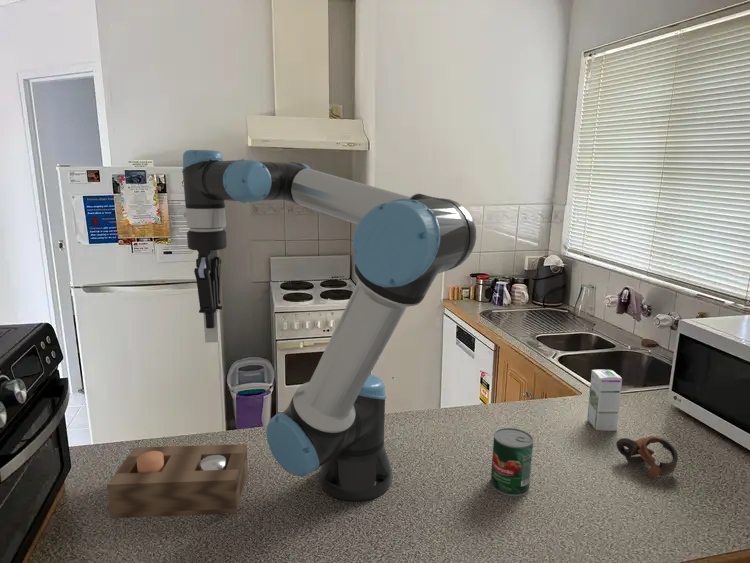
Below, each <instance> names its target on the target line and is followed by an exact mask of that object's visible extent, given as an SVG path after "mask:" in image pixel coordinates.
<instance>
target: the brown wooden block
mask: <svg viewBox="0 0 750 563" xmlns="http://www.w3.org/2000/svg"><path fill="white" fill-rule="evenodd" d="M149 451H160V452H162V453H163V457H164V468H163V470H162V472H149V473H138V470H137V458H138V457H139V456H140V455H141V454H143V453H146V452H149ZM211 455H221V456H224V457H225V458H226V470H207V471H201V465H200V463H201V461H202V460H203V459H204V458H206V457H208V456H211ZM248 461H249V460H248V444H247V443H242V444H241V443H238V444H237V443H236V444H210V445H209V444H206V445H178V446H177V445H176V446H175V445H173V446H170V445H169V446H147V447H145V446H144V447H133V449H132V450H131V451H130V452H129V453H128V456H127V457H125V460H124V461H123V462H122V464H121V465H120V466H119V467H118V469H117V471H115V473H114V474H113V476H112V477H111V479H110V480H109V481H108V482H107V484H106V486H107V496H108V497H107V498H108V506H109V507H108V508H109V516H110V519H131V518H132V519H134V518H151V517H152V518H157V517H177V516H178V517H179V516H180V517H181V516H199V515H200V516H201V515H205V516H206V515H223V514H224V515H226V514H227V515H228V514H229V515H230V514H237V513H238V511H239V508H240V504H241V502H242V501H241V500H242V497H243V493H244V491H245V486H246V483H247V479H248V476H249V466H248V465H249V464H248Z"/></svg>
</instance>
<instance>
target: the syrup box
mask: <svg viewBox="0 0 750 563" xmlns="http://www.w3.org/2000/svg"><path fill="white" fill-rule="evenodd" d="M590 376H591V378H590V383H589V388H590V389H589V395H588V396H589V397H588V406H587V407H588V408H587V419H586V420H587V422H588V423H589V424H590V425H591V426H592V427H593V429H594V430H596V431H601V432H602V431H603V432H604V431H607V432H608V431H609V432H610V431H611V432H613V431H615V432H617V431H618V422H619V413H620V403H621V395H622V394H621V393H622V383H623V378H622V377H621V375H619V374H617V373H616V372H615V371H614V370H613V369H591V374H590Z"/></svg>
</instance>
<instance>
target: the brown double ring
mask: <svg viewBox="0 0 750 563" xmlns="http://www.w3.org/2000/svg"><path fill="white" fill-rule="evenodd" d="M655 443H659V444H661V446H662V447H663V449H665V450H667V451H668V452H670V454H671V456H672V460H671V461H670V462H662V461H661V462H660V463H659V465H658V464H656V463H655V462H656V458H655V457H654V456H653V454H655V451H654V450H651V449H650V448H648V446H649V445H650V444H655ZM615 444H616V449H617V450H618V452H619V453H620V454H621V455H622V456H623V457H624V458H625V459H626V461H627V462H631V459H632V457H633V456H639V455H640V457H641V458H642V459H643V461H644V462H645V463H646V465H648V466H649V467H650V469H649V471H647V473H646V476H648V477H649V478H651V479H653V480H654V479H655V478H658V476H659V477H663V476H666V475H670V474H671V473H673V472H675V469H676V468H677V463H678V460H679V455H678V453H677V451H676V448H675V447H674V446H673V445H672V443H670V442H669V441H667V440H665V439H664V438H661V437H658V436H654V435H653V436H651V435H650V436H648V437H647V436H646V437H642V438H639V439H637V440H633V439H631V438H627V437H626V438H625V437H623V438H622V437H621V438H620V439H618V440H616V443H615Z"/></svg>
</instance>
